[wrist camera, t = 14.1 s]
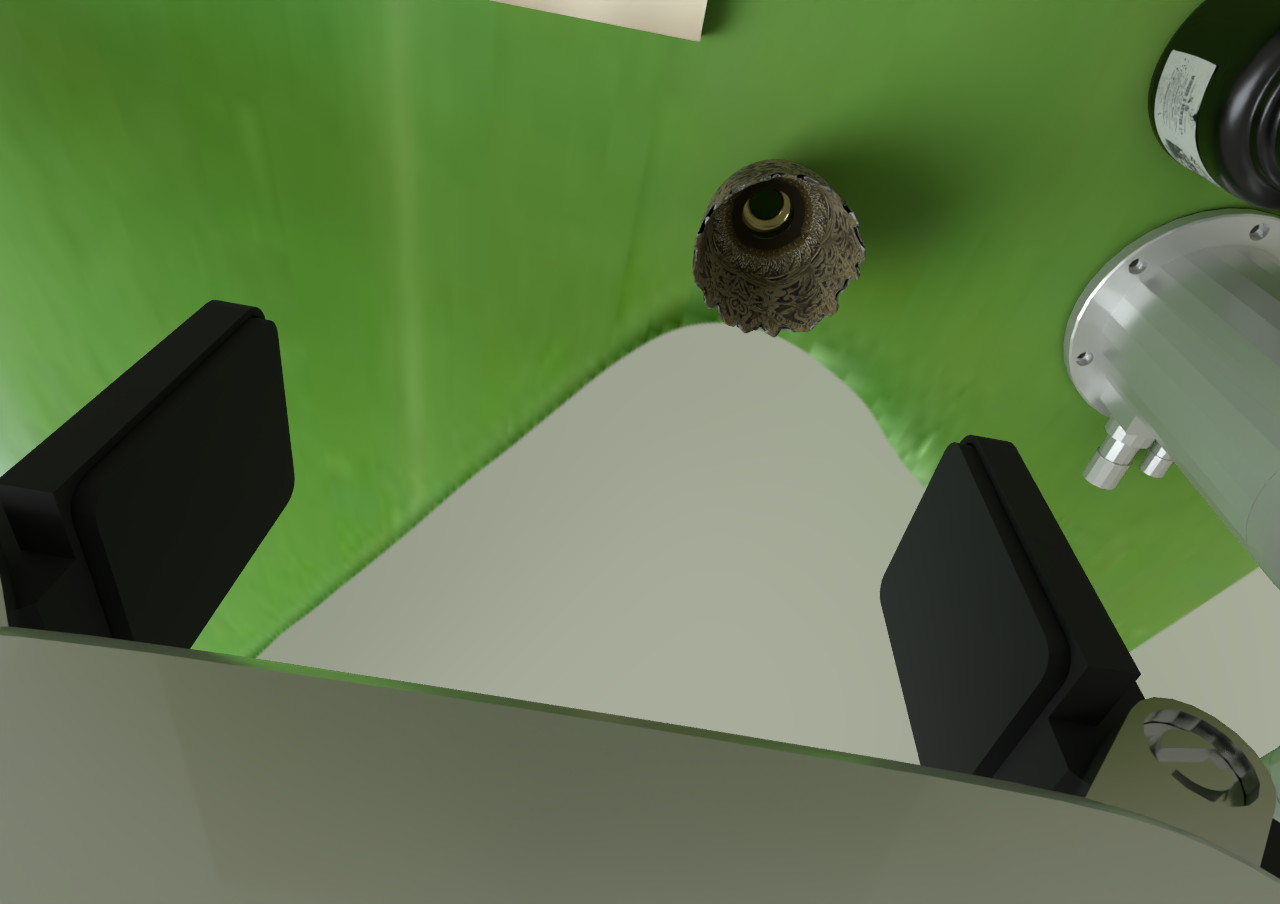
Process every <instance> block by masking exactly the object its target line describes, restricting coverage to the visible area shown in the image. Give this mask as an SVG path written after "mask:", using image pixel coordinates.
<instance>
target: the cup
mask: <svg viewBox="0 0 1280 904" xmlns="http://www.w3.org/2000/svg"><path fill="white" fill-rule="evenodd" d="M764 189H774V190H776V191H777V192H778V193H779V194H780V196H781V199H782V206H781V209H780V211H779V212H778V214H777V215H776V216H774V217H772V218H770V219H760V218H758V217H756V216H755V215H754V214H753V213H752V211H751V208H750V202H751V198H752V196H753V195H754V194H755V193H756V192H758V191H761V190H764ZM857 225H858V226H859V221H858V219H857V217H856V215H855V213H854V212H853V211H852V210H851V209H850V208H849V207H848V205H847V203H846V201H845V200H844V199H843V198H842V197H841V196H840V195H839V194H838V193H837V192H836V191H835V190H834V189H833V188H832V187H831V186H830V185H829V184H828V183H827V182H826V181H825V180H824V179H823V178H822V177H821V176H820V175H818V174H817V173H815V172H814V171H813V170H811V169H809V168H807V167H805V166H803V165H801V164H798V163H795V162H791V161H786V160H765V161H760V162H756V163H753V164H750V165H748V166H746V167H744V168H742V169H740V170H739V171H737V172H735V173H734V174H733V175H731V176H730V177H729V178H728V179H727V180H726V181H725V182H724V183H723V184H722V185H721V186H720V187H719V189H718V190H717V192H716V193H715V194H714V196H713V198H712V199H711V201H710V203H709V205H708V207H707V210H706V212H705V215H704V218H703V220H702V223H701V226H700V230H699V232H698V233H697V236H696V240H695V245H694V257H693V277H694V281H695V283H696V284H697V286H698V287H700V289H701V290H702V291H703V292H704V302H705V304H706V307H707V308H708V309H710V308H714V307H715V306H717V309H718V313H719V315H720V318H721V319H722V320H723V322H724V323H725V324H727V325H728V326H732V327H734V326H735V325H737V327H738V328H740V329H741V330H742V331H743V332H744V333H748V332H750V331H753V330H757V329H758V328H759V327H762V329H763V330H764V331H765V333H767V334H769V335H770V336H772V337H776V336H777V335H778V333H779V332H780V330H781V329H783V330H790V331H791V332H808V331H810V330H811V329H813V328H814V327H815V325H816V324H817V323H818V322H820V321H821V320H822V319H823V318H824V316H827V317H830V316H832V315H834V314H835V313H836V312H837V310H838V308H839V304H838V296H839V295H840V294H841V292H842V291H844V290H846V289H847V286H848V283H849V281H850V279H853V278H854V279H855V280H858V278H859V276H860V268H859V264H860V263H861V262H862V261H863V260H864V259H865V245H864V242H863V240H862V237H861V235H860V232H859V229H858V226H857ZM715 304H716V305H715Z"/></svg>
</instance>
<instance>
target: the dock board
mask: <svg viewBox="0 0 1280 904" xmlns="http://www.w3.org/2000/svg"><path fill="white" fill-rule="evenodd" d="M492 1H497V2H502V3H507V4H512V5H517V6H522V7H527V8H532V9H537V10H542V11H547V12H552V13H557V14H562V15H567V16H572V17H577V18H583V19H588V20H593V21H598V22H603V23H608V24H613V25H618V26H623V27H628V28H633V29H638V30H643V31H648V32H653V33H658V34H663V35H668V36H673V37H678V38H684V39H689V40H694V41H699V42H700V37H701V31H702V26H703V21H704V16H705V10H706V5H707V0H492Z"/></svg>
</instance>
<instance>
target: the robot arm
mask: <svg viewBox="0 0 1280 904" xmlns="http://www.w3.org/2000/svg"><path fill="white" fill-rule="evenodd" d="M1132 261H1133V262H1132ZM1131 262H1132V263H1131ZM1064 362H1065V365H1066V369H1067V372H1068V376H1069V378H1070V379H1071V381H1072V383H1073V384H1074V386H1075V388H1076V389H1077V391H1078V392H1079V393H1080V395H1081V396H1082V397H1083V398H1084V399H1085V401H1086V402H1087V403H1088V404H1089V405H1090V406H1092V407H1093V408H1094V409H1096V410H1097V411H1098V412H1100V413H1101V414H1103V415H1105V416H1107V417H1109V418H1110V419H1109V421H1108V422H1107V424H1106V426H1105V429H1106V432H1107V433H1108V436H1107V437H1106V439H1105V440H1104V442H1103V443H1102V445H1101V447H1098V448H1097V450H1096V451H1095V453H1094V454H1093V456H1092V458H1091V459H1090V461H1089V462H1088V464H1087V466H1086V467H1085V469H1084V470H1083V476H1084V477H1085V479H1086V480H1087V481H1089V482H1090V483H1091V484H1093V485H1095V486H1097V487H1099V488H1103V489H1107V490H1111V489H1114V488H1115V487H1116V486H1117V485H1118V483H1119V482H1120V480H1121V479H1122V477H1123V476H1124V474H1125V473H1126V471H1127V470H1128V468H1129V467H1130V465H1131V464H1132V462H1131V461H1132V459H1133V458H1134V456H1135V455H1136V453H1137V452H1138V450H1139V449H1147V448H1148V447H1150V446H1151V445H1152V443H1153V442H1154V440H1155V439H1156V440H1157V441H1156V443H1155V444H1154V446H1153V447H1151V448H1150V449H1149V451H1148V452H1147V454H1146V455H1145V457H1144V458H1143V459H1142V461H1141V462H1140V464H1139V468H1140V469H1141V470H1142V471H1143V472H1144V473H1146V474H1148V475H1149V476H1152V477H1155V478H1162V477H1163V476H1164V475H1165V473H1166V472H1167V470H1168V469H1169V468H1170V466H1171V465H1172V463H1173V462H1175V464H1176V465H1177V466H1178V467H1179V469H1180V470H1181V471H1182V472H1183V473H1184V475H1185V476H1186V477H1187V478H1188V480H1189V481H1190V482H1191V483H1192V485H1193V486H1194V487H1195V488H1196V489H1197V491H1198V492H1199V493H1200V494H1201V496H1202V497H1203V498H1204V499H1205V500H1206V502H1207V503H1208V504H1209V505H1210V507H1211V508H1212V509H1213V510H1214V511H1215V513H1216V514H1217V515H1218V516H1219V518H1220V519H1221V520H1222V521H1223V523H1224V524H1225V525H1226V526H1227V527H1228V529H1229V530H1230V531H1231V532H1232V534H1233V535H1234V536H1235V537H1236V538H1237V540H1238V541H1239V542H1240V543H1241V545H1242V546H1243V547H1244V548H1245V550H1246V551H1247V552H1248V553H1249V554H1250V556H1251V557H1252V558H1253V559H1254V560H1255V562H1256V563H1257V564H1258V565H1259V567H1260V568H1261V569H1262V570H1263V572H1264V573H1265V574H1266V575H1267V576H1268V578H1269V579H1270V580H1271V581H1272V582H1273V584H1274V585H1276V587H1277V588H1279V590H1280V217H1279V216H1277V215H1274V214H1270V213H1266V212H1262V211H1258V210H1254V209H1235V208H1227V209H1219V210H1211V211H1204V212H1200V213H1196V214H1193V215H1189V216H1186V217H1183V218H1179V219H1176V220H1174V221H1171V222H1169V223H1167V224H1165V225H1163V226H1160V227H1158V228H1156V229H1154V230H1152V231H1150V232H1148V233H1147V234H1145V235H1143V236H1142V237H1140V238H1139V239H1137V240H1135V241H1134V242H1132V243H1131V244H1129V245H1127V246H1126V247H1125V248H1124V249H1123V250H1121V251H1120V252H1119V253H1118V254H1117V255H1115V256H1114V257H1113V258H1112V259H1111V260H1109V261H1108V262H1107V263H1106V264H1105V265H1104V266H1103V267H1102V268H1101V270H1100V271H1099V272H1098V273H1097V274H1096V275H1095V276H1094V277H1093V278H1092V280H1091V281H1090V282H1089V283H1088V285H1087V286H1086V288H1085V289H1084V291H1083V292H1082V294H1081V295H1080V297H1079V299H1078V300H1077V302H1076V304H1075V306H1074V308H1073V311H1072V313H1071V315H1070V318H1069V320H1068V323H1067V328H1066V332H1065V337H1064ZM294 481H295V479H294V467H293V459H292V450H291V442H290V433H289V425H288V416H287V407H286V399H285V390H284V382H283V373H282V365H281V356H280V348H279V339H278V332H277V327H276V325H275V323H274V322H272V321H270V320H265V316H264V314H263V312H262V311H261V310H260V309H259V308H258V307H252V306H247V305H241V304H236V303H230V302H224V301H219V300H211V301H210V302H208V303H206V304H205V305H204V306H203V307H202V308H200V309H199V310H198V311H197V312H196V313H195V314H193V315H192V316H191V317H190V318H189V319H187V320H186V321H185V322H184V323H183V324H181V325H180V326H179V327H178V328H177V329H176V330H174V331H173V332H172V333H171V334H170V335H168V336H167V337H166V338H165V339H164V340H163V341H161V342H160V343H159V344H158V345H157V346H155V347H154V348H153V349H152V350H151V351H149V352H148V353H147V354H146V355H145V356H144V357H142V358H141V359H140V360H139V361H138V362H136V363H135V364H134V365H133V366H132V367H131V368H129V369H128V370H127V371H126V372H125V373H123V374H122V375H121V376H120V377H119V378H117V379H116V380H115V381H114V382H113V383H112V384H110V385H109V386H108V387H107V388H106V389H104V390H103V391H102V392H101V393H100V394H99V395H97V396H96V397H95V398H94V399H93V400H91V401H90V402H89V403H88V404H87V405H85V406H84V407H83V408H82V409H81V410H80V411H78V412H77V413H76V414H75V415H74V416H72V417H71V418H70V419H69V420H68V421H67V422H65V423H64V424H63V425H62V426H61V427H59V428H58V429H57V430H56V431H55V432H54V433H52V434H51V435H50V436H49V437H48V438H46V439H45V440H44V441H43V442H42V443H40V444H39V445H38V446H37V447H36V448H35V449H33V450H32V451H31V452H30V453H29V454H27V455H26V456H25V457H24V458H23V459H22V460H20V461H19V462H18V463H17V464H16V465H14V466H13V467H12V468H11V469H10V470H8V471H7V472H6V473H5V474H4V475H3V476H1V477H0V904H1280V746H1279V747H1278V748H1276V749H1275V750H1273V751H1271V752H1270V753H1268V754H1266V755H1265V756H1263V757H1261V758H1259V757H1258V755H1257V754H1256V753H1255V751H1254V750H1253V749H1252V748H1251V747H1250V746H1249V745H1247V743H1246V742H1245V741H1244V740H1243V739H1242V738H1241V737H1240V736H1239V735H1238V734H1237V733H1235V732H1234V731H1233V730H1231V729H1230V728H1229V727H1227V726H1226V725H1225V724H1223V723H1222V722H1220V721H1219V720H1218V719H1216V718H1215V717H1213V716H1211V715H1209V714H1207V713H1206V712H1204V711H1202V710H1200V709H1198V708H1196V707H1194V706H1192V705H1189V704H1185V703H1183V702H1180V701H1177V700H1174V699H1167V698H1156V697H1153V698H1149V699H1145V698H1144V696H1143V694H1142V692H1141V691H1140V689H1139V687H1138V685H1137V683H1136V680H1137V679H1138V677H1139V676H1140V675H1141V673H1140V672H1139V670H1138V668H1137V666H1136V664H1135V662H1134V661H1133V659H1132V657H1131V655H1130V653H1129V652H1128V650H1127V648H1126V646H1125V644H1124V643H1123V641H1122V639H1121V637H1120V635H1119V634H1118V632H1117V630H1116V628H1115V626H1114V624H1113V623H1112V621H1111V619H1110V617H1109V615H1108V614H1107V612H1106V610H1105V608H1104V606H1103V605H1102V603H1101V601H1100V599H1099V597H1098V596H1097V594H1096V592H1095V590H1094V588H1093V586H1092V585H1091V583H1090V581H1089V579H1088V577H1087V576H1086V574H1085V572H1084V570H1083V568H1082V567H1081V565H1080V563H1079V561H1078V559H1077V557H1076V556H1075V554H1074V552H1073V550H1072V548H1071V547H1070V545H1069V543H1068V541H1067V539H1066V538H1065V536H1064V534H1063V532H1062V530H1061V529H1060V527H1059V525H1058V523H1057V521H1056V519H1055V518H1054V516H1053V514H1052V512H1051V510H1050V509H1049V507H1048V505H1047V503H1046V501H1045V500H1044V498H1043V496H1042V494H1041V492H1040V491H1039V489H1038V487H1037V485H1036V483H1035V481H1034V480H1033V478H1032V476H1031V474H1030V472H1029V471H1028V469H1027V467H1026V465H1025V463H1024V462H1023V460H1022V458H1021V456H1020V454H1019V453H1018V451H1017V449H1016V447H1015V446H1014V445H1013V444H1012V443H1011V442H1008V441H1002V440H997V439H991V438H985V437H980V436H974V435H969V436H966V437H965V438H964V439H963V440H962V441H961V442H960V443H955V442H954V443H951V444H950V445H949V446H948V447H947V448H946V450H945V452H944V454H943V456H942V458H941V460H940V462H939V464H938V466H937V468H936V470H935V472H934V474H933V476H932V478H931V480H930V482H929V484H928V486H927V488H926V490H925V493H924V495H923V497H922V499H921V501H920V503H919V505H918V507H917V509H916V511H915V513H914V515H913V517H912V519H911V521H910V523H909V525H908V527H907V529H906V531H905V533H904V535H903V537H902V540H901V541H900V543H899V546H898V548H897V550H896V552H895V554H894V556H893V558H892V560H891V562H890V564H889V566H888V568H887V570H886V572H885V574H884V576H883V579H882V583H881V588H880V600H881V606H882V610H883V614H884V618H885V622H886V626H887V630H888V634H889V638H890V643H891V647H892V651H893V655H894V659H895V663H896V667H897V671H898V675H899V679H900V683H901V687H902V691H903V695H904V700H905V704H906V707H907V712H908V715H909V719H910V724H911V728H912V732H913V736H914V740H915V744H916V748H917V752H918V757H919V760H920V765H914V764H910V763H904V762H899V761H893V760H887V759H881V758H875V757H869V756H863V755H857V754H851V753H845V752H839V751H833V750H827V749H820V748H815V747H809V746H802V745H797V744H790V743H784V742H778V741H772V740H766V739H760V738H754V737H748V736H742V735H735V734H730V733H724V732H718V731H712V730H706V729H700V728H694V727H687V726H681V725H675V724H669V723H662V722H656V721H650V720H644V719H638V718H631V717H625V716H619V715H613V714H606V713H600V712H594V711H587V710H581V709H575V708H569V707H563V706H556V705H549V704H544V703H537V702H531V701H525V700H519V699H512V698H506V697H500V696H493V695H486V694H481V693H474V692H468V691H462V690H454V689H449V688H443V687H436V686H430V685H423V684H417V683H410V682H404V681H397V680H391V679H384V678H378V677H371V676H364V675H358V674H351V673H345V672H339V671H332V670H326V669H319V668H313V667H307V666H300V665H294V664H287V663H281V662H273V661H268V660H261V659H255V658H248V657H242V656H235V655H229V654H221V653H214V652H207V651H200V650H193V649H190V648H191V646H192V645H193V644H194V642H195V641H196V639H197V638H198V636H199V635H200V633H201V632H202V630H203V629H204V627H205V626H206V624H207V623H208V621H209V620H210V618H211V617H212V615H213V614H214V612H215V611H216V609H217V608H218V606H219V605H220V603H221V602H222V600H223V599H224V597H225V596H226V594H227V593H228V591H229V590H230V588H231V587H232V585H233V584H234V582H235V581H236V579H237V578H238V577H239V575H240V574H241V572H242V571H243V569H244V568H245V566H246V565H247V563H248V562H249V560H250V559H251V557H252V556H253V554H254V553H255V551H256V550H257V548H258V547H259V545H260V544H261V542H262V541H263V539H264V538H265V536H266V535H267V533H268V532H269V530H270V529H271V527H272V526H273V524H274V523H275V521H276V520H277V518H278V517H279V515H280V514H281V512H282V511H283V510H284V508H285V507H286V505H287V504H288V502H289V500H290V498H291V495H292V492H293V488H294Z"/></svg>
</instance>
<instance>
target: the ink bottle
mask: <svg viewBox="0 0 1280 904" xmlns="http://www.w3.org/2000/svg"><path fill="white" fill-rule="evenodd" d="M1148 113H1149V119H1150V123H1151V127H1152V130H1153V132H1154V134H1155V137H1156V138H1157V140H1158V142H1159V144H1160V145H1161V146H1162V148H1163V149H1164V150H1165V151H1166V152H1167V153H1168V154H1169V155H1170V156H1171V157H1172V158H1173V159H1174V160H1176V161H1177V162H1179V163H1180V164H1182V165H1183V166H1185V167H1186V168H1188V169H1190V170H1191V171H1193V172H1195V173H1197V174H1198V175H1200V176H1202V177H1203V178H1205V179H1207V180H1208V181H1210V182H1212V183H1214V184H1215V185H1217V186H1219V187H1220V188H1222V189H1224V190H1225V191H1227V192H1229V193H1231V194H1233V195H1234V196H1236V197H1238V198H1239V199H1241V200H1243V201H1245V202H1247V203H1249V204H1252V205H1254V206H1257V207H1260V208H1264V209H1268V210H1273V211H1280V0H1205V1H1204V2H1203V3H1202V4H1200V5H1199V6H1198V7H1197V8H1196V9H1195V10H1194V11H1193V12H1192V13H1191V15H1190V16H1189V17H1188V18H1187V19H1186V20H1185V21H1184V23H1183V24H1182V25H1181V26H1180V27H1179V29H1178V30H1177V31H1176V33H1175V34H1174V35H1173V37H1172V38H1171V40H1170V41H1169V43H1168V44H1167V46H1166V48H1165V49H1164V51H1163V53H1162V55H1161V57H1160V59H1159V61H1158V63H1157V65H1156V68H1155V70H1154V73H1153V76H1152V79H1151V83H1150V88H1149V94H1148Z"/></svg>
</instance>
